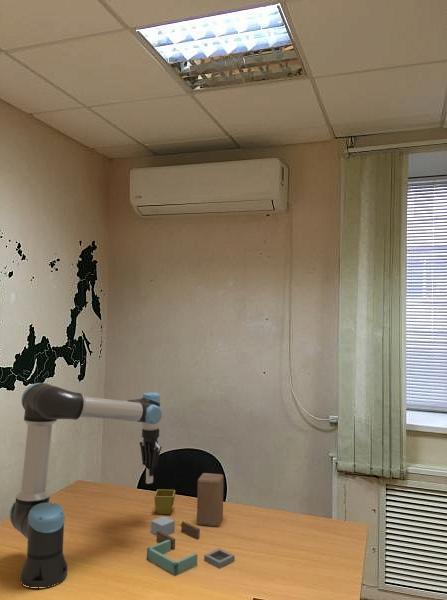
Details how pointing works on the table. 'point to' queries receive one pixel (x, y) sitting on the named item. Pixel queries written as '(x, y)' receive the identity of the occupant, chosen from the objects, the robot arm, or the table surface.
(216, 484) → the wooden block
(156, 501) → the flower pot
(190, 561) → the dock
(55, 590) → the table surface
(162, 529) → the block
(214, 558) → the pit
